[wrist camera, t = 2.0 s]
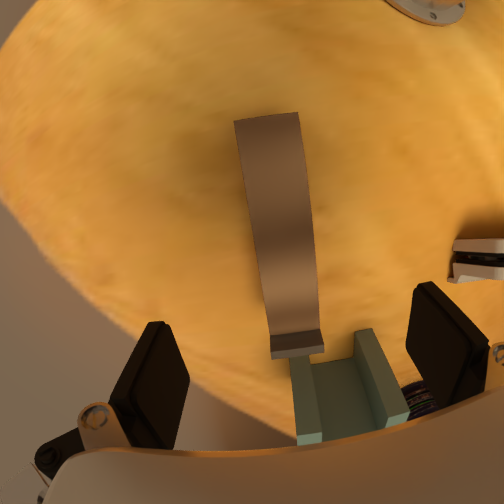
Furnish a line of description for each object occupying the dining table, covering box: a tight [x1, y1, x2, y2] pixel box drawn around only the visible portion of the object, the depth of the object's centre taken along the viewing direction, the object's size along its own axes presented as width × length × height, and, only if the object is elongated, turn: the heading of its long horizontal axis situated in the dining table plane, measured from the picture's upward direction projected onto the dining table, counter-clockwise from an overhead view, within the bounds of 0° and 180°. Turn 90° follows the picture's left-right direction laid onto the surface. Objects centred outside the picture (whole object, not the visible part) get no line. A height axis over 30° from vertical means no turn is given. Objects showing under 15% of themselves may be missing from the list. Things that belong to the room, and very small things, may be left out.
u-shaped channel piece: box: [289, 328, 410, 446], centre depth 25 cm, size 6×10×13 cm, turn 99°
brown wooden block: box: [234, 112, 324, 360], centre depth 21 cm, size 17×4×8 cm, turn 9°
